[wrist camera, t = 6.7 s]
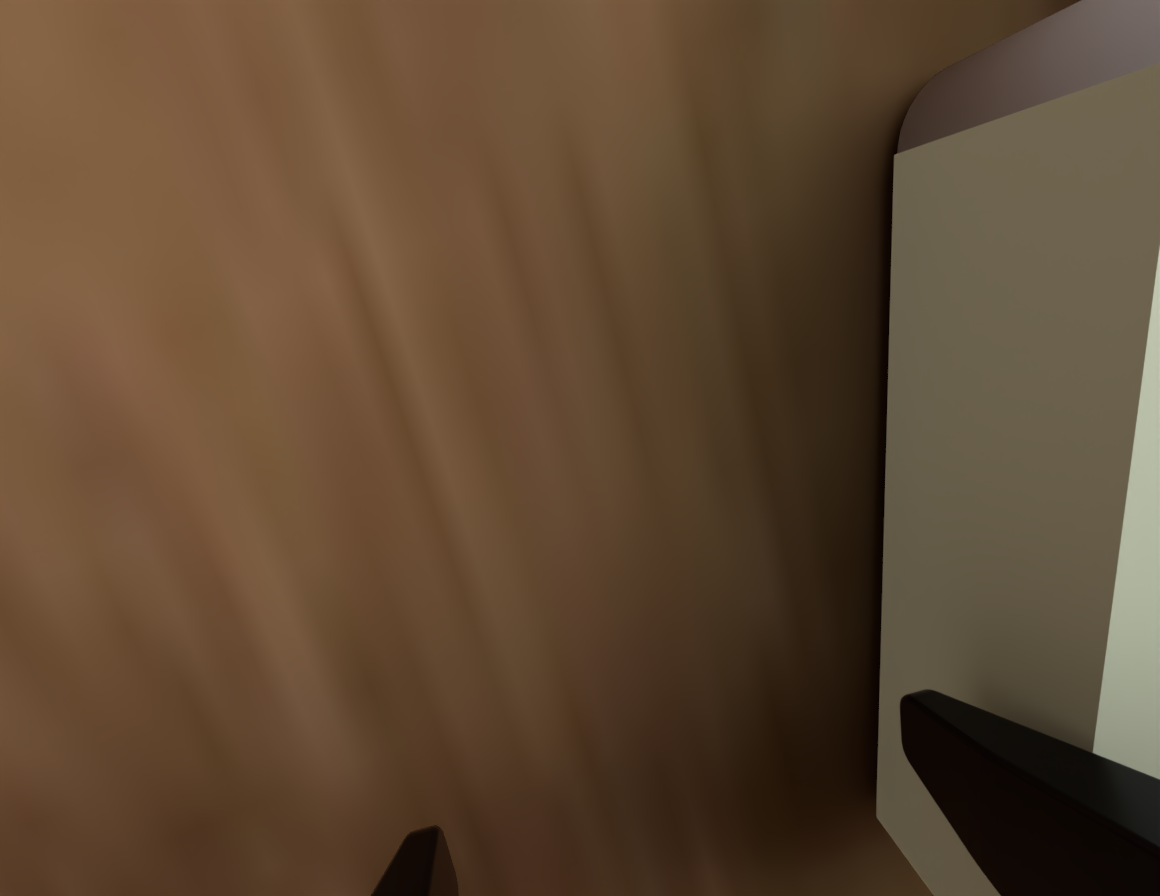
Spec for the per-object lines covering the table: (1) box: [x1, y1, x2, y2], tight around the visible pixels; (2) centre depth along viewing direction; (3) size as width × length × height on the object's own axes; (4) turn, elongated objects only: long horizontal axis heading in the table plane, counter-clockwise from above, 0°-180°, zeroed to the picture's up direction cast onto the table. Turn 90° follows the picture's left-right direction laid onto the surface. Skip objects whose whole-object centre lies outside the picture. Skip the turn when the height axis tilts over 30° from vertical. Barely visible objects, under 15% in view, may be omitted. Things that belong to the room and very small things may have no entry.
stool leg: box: [876, 0, 1160, 896], centre depth 9 cm, size 13×2×4 cm, turn 6°
